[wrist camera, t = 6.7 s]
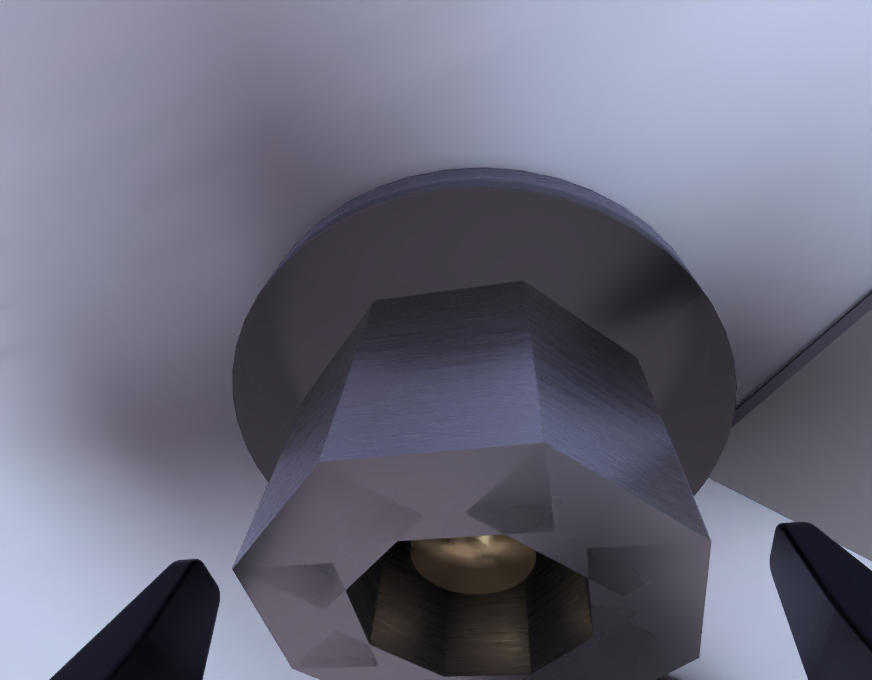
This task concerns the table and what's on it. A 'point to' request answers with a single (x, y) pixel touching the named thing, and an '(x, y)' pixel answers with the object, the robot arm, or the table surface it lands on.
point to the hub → (479, 266)
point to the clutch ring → (479, 502)
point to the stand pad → (812, 437)
